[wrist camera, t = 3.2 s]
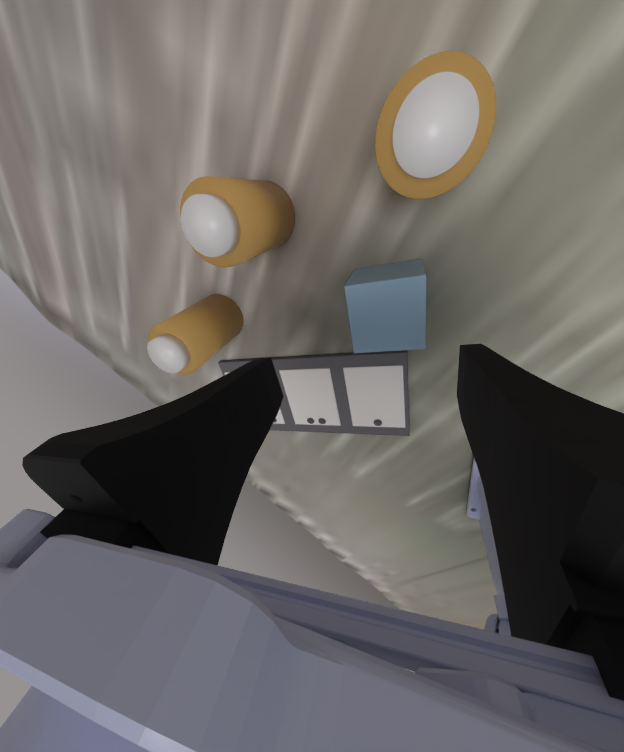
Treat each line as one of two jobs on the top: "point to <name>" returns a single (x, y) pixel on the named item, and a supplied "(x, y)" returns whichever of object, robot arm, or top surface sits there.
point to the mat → (341, 392)
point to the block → (387, 307)
